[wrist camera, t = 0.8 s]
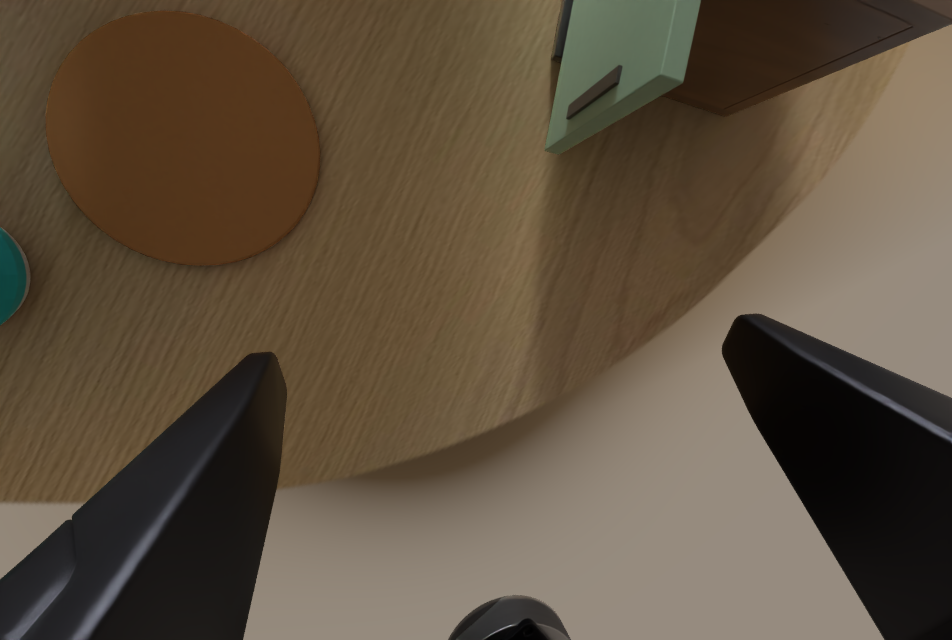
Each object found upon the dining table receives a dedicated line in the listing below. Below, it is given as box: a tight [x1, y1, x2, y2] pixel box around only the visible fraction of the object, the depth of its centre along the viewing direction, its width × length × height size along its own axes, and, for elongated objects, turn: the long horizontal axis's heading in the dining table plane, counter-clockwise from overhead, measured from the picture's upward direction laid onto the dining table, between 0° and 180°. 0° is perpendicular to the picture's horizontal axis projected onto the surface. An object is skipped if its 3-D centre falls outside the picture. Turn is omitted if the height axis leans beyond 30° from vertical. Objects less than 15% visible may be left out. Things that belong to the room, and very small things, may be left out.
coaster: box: [45, 11, 320, 266], centre depth 19 cm, size 10×10×1 cm
